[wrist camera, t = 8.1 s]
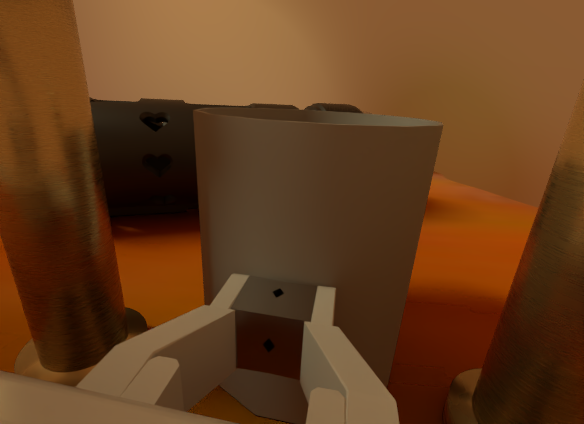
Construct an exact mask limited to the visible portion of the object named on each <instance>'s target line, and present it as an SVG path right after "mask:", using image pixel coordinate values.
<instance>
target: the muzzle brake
mask: <svg viewBox="0 0 584 424" xmlns="http://www.w3.org/2000/svg"><path fill="white" fill-rule="evenodd" d="M89 99H90V105H91V111H92V117H93V123H94V129H95V135H96V141H97V146H98V152H99V158H100V164H101V170H102V176H103V182H104V188H105V193H106V199H107V205H108V211H109V216H123V215H140V214H157V213H173V212H186V211H187V209H197V208H199V201H198V185H197V168H196V152H195V135H194V119H193V110H196V109H203V108H271V109H295V110H299V109H298V108H296V107H295V106H293V105H277V104H250V105H249V106H225V105H201V104H187V103H185V102H184V101H183V100H164V99H163V100H162V99H142V98H141V99H140V101H138V102H129V101H103V100H96V99H92V98H90V97H89ZM304 110H316V111H333V112H349V113H362V114H371V113H368V112H362V111H360V110H359V109H358V108H356V107H355V106H352V105H347V104H326V103H317V104H313V105H311V106H308V107H307V108H305V109H304ZM162 122H163V123H162Z"/></svg>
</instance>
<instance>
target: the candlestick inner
mask: <svg viewBox="0 0 584 424" xmlns="http://www.w3.org/2000/svg"><path fill="white" fill-rule="evenodd" d="M73 6H74V5H73V0H0V236H1V239H2V242H3V245H4V248H5V252H6V255H7V258H8V261H9V265H10V268H11V271H12V274H13V277H14V281H15V284H16V287H17V290H18V294H19V297H20V300H21V303H22V306H23V310H24V313H25V316H26V319H27V323H28V326H29V329H30V332H31V335H32V339H31V340H30V341H29V342H28V343H27V344H26V345H25V346H24V347H23V348H22V350H21V351H20V353H19V355H18V357H17V359H16V361H15V365H14V372H15V374H18V375H23V376H27V377H32V378H36V379H41V380H45V381H50V382H54V383H59V384H63V385H68V386H72V387H76V386H77V385H78V384H79V383H80V382H81V381H82V380H83V379H84V378H85V377H86V375H87V374H88V373H89V372H90V371H91V370H92V369H93V368H94V367H95V366H96V365H97V364H98V363H99V362H100V361H101V360H102V359H103V358H104V357H105V356H106V355H107V354H108V353H109V352H110V351H111V350H112V349H113V348H114V347H115V346H116V345H118V344H120V343H122V342H124V341H127V340H129V339H131V338H133V337H135V336H138V335H140V334H142V333H144V332H146V331H148V330H147V324H146V321H145V319H144V317H143V316H142V315H141V314H140V313H139V312H137V311H135V310H133V309H130V308H126V307H125V305H124V299H123V293H122V287H121V282H120V276H119V270H118V264H117V258H116V252H115V246H114V240H113V235H112V229H111V223H110V217H109V211H108V205H107V199H106V193H105V188H104V182H103V176H102V170H101V164H100V158H99V152H98V146H97V141H96V135H95V129H94V123H93V117H92V111H91V105H90V99H89V94H88V88H87V82H86V76H85V70H84V64H83V59H82V53H81V47H80V41H79V35H78V29H77V23H76V17H75V11H74V7H73Z"/></svg>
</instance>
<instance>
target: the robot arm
mask: <svg viewBox="0 0 584 424" xmlns="http://www.w3.org/2000/svg"><path fill="white" fill-rule="evenodd" d="M335 299H336V288H334V287H325V286H315V285H307V284H298V283H290V282H284V281H280V280H274V279H268V278H262V277H256V276H250V275H244V274H236V273H234V274H232V275H231V276H230V277H229V279H228V280H227V282H226V283H225V284H224V286H223V287H222V289H221V290H220V292H219V293H218V294H217V296H216V297H215V299H214V300H213V302H212V303H211V304H210V306H208V305H203V306H201V307H199V308H197V309H195V310H192V311H190V312H188V313H186V314H184V315H181V316H179V317H177V318H175V319H173V320H170V321H168V322H166V323H164V324H162V325H159V326H157V327H155V328H153V329H151V330H149V331H146V332H144V333H142V334H140V335H138V336H135V337H133V338H131V339H129V340H127V341H124V342H122V343H120V344H118V345H116V346H115V347H114V348H113V349H112V350H111V351H110V352H109V353H108V354H107V355H106V356H105V357H104V358H103V359H102V360H101V361H100V362H99V363H98V364H97V365H96V366H95V367H94V368H93V369H92V370H91V371H90V372H89V373H88V374H87V375H86V377H85V378H84V379H83V380H82V381H81V382H80V383H79V384H78V385H77V386H76V387H72V386H68V385H63V384H59V383H54V382H50V381H45V380H41V379H36V378H32V377H27V376H23V375H18V374H14V373H9V372H5V371H0V424H239V423H234V422H230V421H225V420H221V419H216V418H212V417H207V416H203V415H198V414H194V413H189V412H187V411H188V410H189V409H191V408H192V407H193V406H194V405H195V404H196V403H198V402H199V401H200V400H201V399H202V398H204V397H205V396H206V395H207V394H208V393H209V392H211V391H212V390H213V389H214V388H215V387H216V386H218V385H219V384H220V383H221V382H222V381H224V380H225V379H226V378H227V377H228V376H229V375H231V374H232V373H233V372H234V371H235V370H236V368H240V369H246V370H252V371H258V372H264V373H269V374H274V375H278V376H283V377H287V378H292V379H296V380H300V384H301V387H302V389H303V392H304V394H305V397H306V399H307V402H308V404H309V407H308V413H307V419H306V424H399V417H398V411H397V404H396V400H395V399H394V398H393V396H392V395H391V394H390V392H389V391H388V390H387V389H386V387H385V386H384V385H383V383H382V382H381V381H380V380H379V378H378V377H377V376H376V374H375V373H374V372H373V371H372V369H371V368H370V367H369V365H368V364H367V363H366V362H365V360H364V359H363V358H362V356H361V355H360V354H359V352H358V351H357V350H356V349H355V347H354V346H353V345H352V343H351V342H350V341H349V340H348V338H347V337H346V336H345V334H344V333H343V332H342V331H341V329H340V328H339V327H336V326H333V323H334V311H335Z"/></svg>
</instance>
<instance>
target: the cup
mask: <svg viewBox="0 0 584 424" xmlns="http://www.w3.org/2000/svg"><path fill="white" fill-rule="evenodd" d="M193 119H194V135H195V152H196V168H197V185H198V201H199V218H200V234H201V251H202V267H203V284H204V300H205V305H208V306H210V304H211V303H212V302H213V300H214V299H215V297H216V296H217V294H218V293H219V292H220V290H221V289H222V287H223V286H224V284H225V283H226V282H227V280H228V279H229V277H230V276H231V275H232V274H234V273H236V274H244V275H250V276H256V277H262V278H268V279H274V280H280V281H284V282H290V283H298V284H307V285H315V286H325V287H334V288H336V299H335V311H334V323H333V326H336V327H339V328H340V329H341V331H342V332H343V333H344V334H345V336H346V337H347V338H348V340H349V341H350V342H351V343H352V345H353V346H354V347H355V349H356V350H357V351H358V352H359V354H360V355H361V356H362V358H363V359H364V360H365V362H366V363H367V364H368V365H369V367H370V368H371V369H372V371H373V372H374V373H375V374H376V376H377V377H378V378H379V380H380V381H381V382H382V383H383V385H384V386H385V387H387V386H388V381H389V377H390V372H391V367H392V363H393V358H394V353H395V349H396V344H397V339H398V335H399V330H400V325H401V321H402V316H403V311H404V307H405V302H406V297H407V293H408V288H409V283H410V279H411V274H412V269H413V264H414V260H415V255H416V250H417V246H418V241H419V236H420V232H421V227H422V222H423V218H424V213H425V208H426V204H427V199H428V194H429V190H430V185H431V180H432V176H433V171H434V166H435V162H436V157H437V152H438V147H439V142H440V138H441V133H442V129H443V124H442V122H437V121H430V120H424V119H417V118H407V117H397V116H386V115H375V114H362V113H349V112H333V111H316V110H295V109H271V108H203V109H196V110H193ZM219 386H220V387H222V388H223V389H224V390H225V391H227V392H228V393H229V394H230V395H231V396H233V397H234V398H235V399H236V400H238V401H239V402H240V403H241V404H243V405H244V406H245V407H246V408H247V409H249V410H250V411H251V412H252V413H254V414H255V415H257V416H262V417H267V418H271V419H276V420H280V421H285V422H289V423H294V424H306V419H307V413H308V407H309V404H308V402H307V399H306V397H305V394H304V392H303V389H302V387H301V384H300V380H296V379H292V378H287V377H283V376H278V375H274V374H269V373H264V372H258V371H252V370H246V369H240V368H236V370H235V371H234V372H233V373H232V374H231V375H229V376H228V377H227V378H226V379H225V380H224V381H222V382H221V383H220V384H219Z"/></svg>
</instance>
